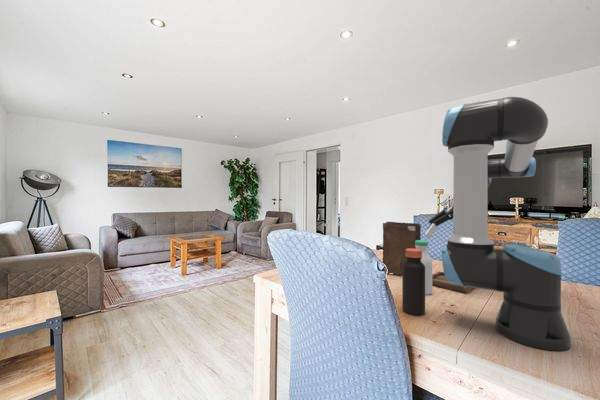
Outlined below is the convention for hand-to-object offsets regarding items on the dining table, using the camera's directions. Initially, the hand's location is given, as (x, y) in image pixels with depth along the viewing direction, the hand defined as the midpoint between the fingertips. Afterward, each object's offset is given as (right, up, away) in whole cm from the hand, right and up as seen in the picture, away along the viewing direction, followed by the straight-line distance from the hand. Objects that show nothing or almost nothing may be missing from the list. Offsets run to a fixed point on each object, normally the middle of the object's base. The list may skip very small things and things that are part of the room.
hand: (440, 238), depth 108 cm
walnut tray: (+7, -20, +4) cm, 22 cm away
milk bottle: (-10, -20, -4) cm, 23 cm away
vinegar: (-20, -21, -22) cm, 36 cm away
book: (-9, -20, +19) cm, 29 cm away
